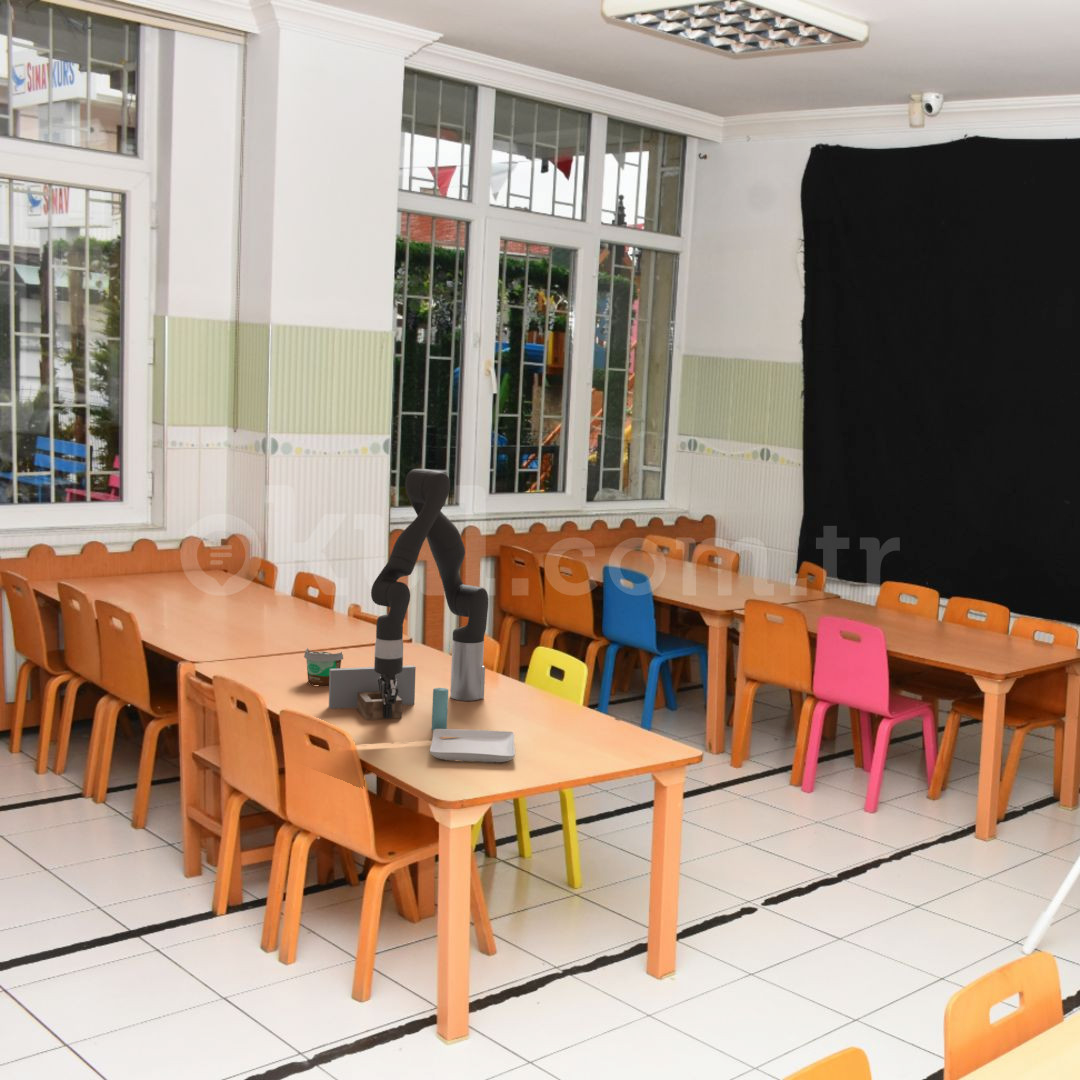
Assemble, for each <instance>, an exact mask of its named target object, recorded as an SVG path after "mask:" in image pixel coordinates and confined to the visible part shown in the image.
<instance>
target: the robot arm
mask: <svg viewBox="0 0 1080 1080" xmlns="http://www.w3.org/2000/svg"><path fill="white" fill-rule="evenodd" d="M405 478H406V479H405V485H404V486H405V491H406V495H407V498H408V501H409V502H410V504H411V506H412V508H413V511H414V512H415V514H416V518H415V519H414V520H413V521H412V522H411V523H410V524H409V525H408V526H407V527H406V528H405V529H404V530H403V531H402V532H401V533H400V534H399V535H398V537H397V539H396V541H395V543H394V544H393V547H392V551H391V553H390V556H389V559H388V561H387V563H386V564H385V566H384V567H383V568H382V569H381V571H380V573H379V574H378V575H377V577H376V579H375V580H374V581H373V584H372V586H371V591H370V597H371V600H372V602H373V603H374V604H376V605H377V606H383V607H387V608H389V612H388V614H383V615H380V616H378V618H377V619H376V629H375V642H374V662H373V663H374V665H373V667H374V670H375V672H377V673H379V674H381V678H379V679H378V684H379V691H380V698H381V699H382V703H383V717H384V718H391V717H392V704H395V701H396V698H397V695H398V688H396V686H397V679H395V675H396V674H399V673H401V672H402V670H403V666H404V665H403V664H404V642H403V638H404V637H403V636H404V635H403V632H404V626H403V625H404V621H405V618H406V614H407V611H408V607H409V605H410V601H411V592H410V588H409V586H408V585H407V584H406V583H405V582H402V581H399V578H402V577H409V576H411V574H412V573H413V571H414V569H415V567H416V566H415V565H416V563H417V561H418V557H419V554H420V551H421V550H422V547H423V545H424V543H425V540H426V539H427V543H428V546H429V549H430V552H431V554H432V557H433V560H434V562H435V564H436V567H437V570H438V574H439V577H440V579H441V582H442V583H441V584H442V587H443V591H444V595H445V599H446V600H445V601H446V603H447V607H448V608H449V610H450V612H451V613H452V614H453V615H454V616H455V615H456V616H457V617H458V616H459V617H463V618H465V617H466V618H468V620H467V624H466V625H465V626H460V627H456V628H455V629H454V630H453V631H452V641H451V642H452V643H451V644H452V645H451V667H450V668H451V671H450V673H451V674H450V689H449V690H450V698H451V699H453V700H456V701H465V702H469V701H470V702H471V701H478V700H482V699H483V700H484V699H485V679H486V666H485V665H484V653H485V652H484V651H485V650H484V649H485V648H484V647H485V645H484V644H485V634H486V630H487V622H488V613H489V612H488V611H489V594H488V592H487V591H488V590H487V589H486V588H484V587H482V586H475V585H471V584H464V583H463V581H462V579H461V575H460V569H461V567H462V565H463V563H464V560H465V556H466V548H465V544H464V542H463V539H462V536H461V533H460V531H459V530H458V528H457V527H456V526H455V525H454V523H453V522H452V521H451V520H450V519H449V517H447V516H446V515H445V514H444V513H443V512H442V509H443V507H444V505H445V504H446V501H447V499H448V496H449V494H450V490H451V479H450V478H449V476H448V473H446V472H444V471H440V470H433V469H426V468H413V469H411V470H410V471H409V472H408V473H407V474H406V477H405Z"/></svg>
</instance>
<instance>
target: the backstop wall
mask: <svg viewBox="0 0 1080 1080" xmlns="http://www.w3.org/2000/svg"><path fill="white" fill-rule="evenodd" d="M416 669H417V668H416V666H415V665H414V664H413V665H411V664H410V665H403V670H402V672H401V673H399V674H396V675H395V679H397V686H396V688H398V696H399V697H400V698H401V699H402V706H409V705H415V699H416V698H415V697H416ZM379 678H381V674H379V673H377V672H375V670H374V666H365V667H345V668H342V667H340V668H337V669H330V673H329V686H328V708H329V709H331V710H332V709H333V710H334V709H335V710H336V709H351V708H353V709H354V708H356V709H357V703H358V692H377V691H379V684H378V679H379Z"/></svg>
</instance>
